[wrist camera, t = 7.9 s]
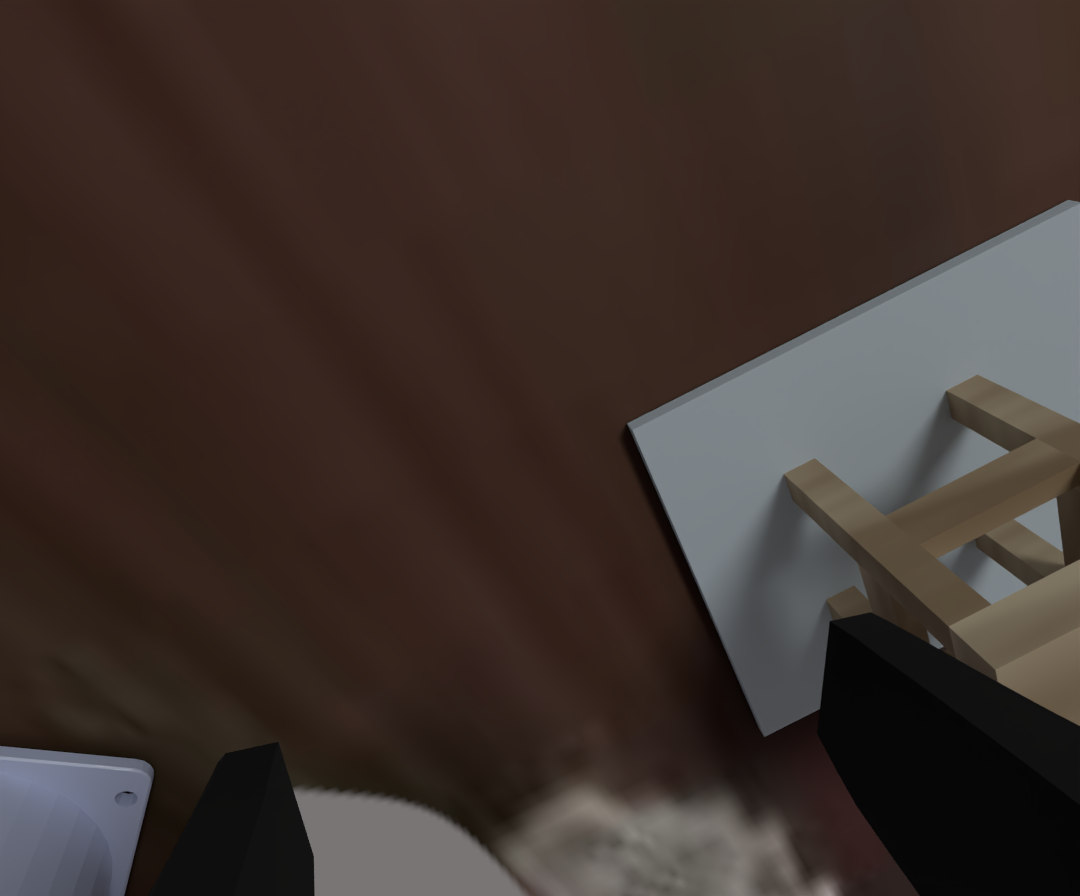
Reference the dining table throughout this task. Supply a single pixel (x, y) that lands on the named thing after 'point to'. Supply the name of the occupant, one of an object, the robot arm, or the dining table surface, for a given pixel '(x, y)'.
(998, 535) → the pine stool
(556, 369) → the dining table surface
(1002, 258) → the rubber mat
